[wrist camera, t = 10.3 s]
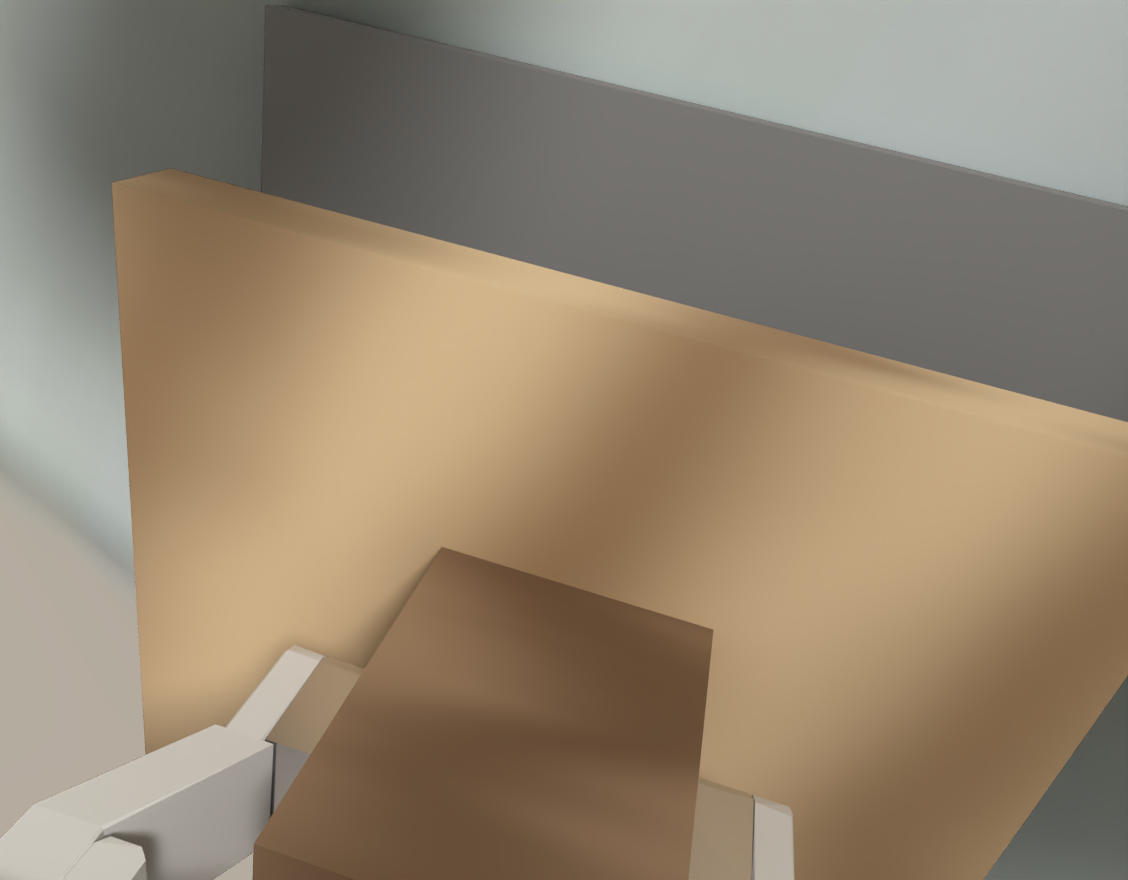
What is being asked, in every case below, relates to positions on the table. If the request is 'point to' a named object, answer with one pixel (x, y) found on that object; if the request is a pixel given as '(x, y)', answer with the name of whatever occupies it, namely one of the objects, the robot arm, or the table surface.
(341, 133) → the mat
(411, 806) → the lid
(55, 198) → the table surface
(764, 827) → the robot arm
